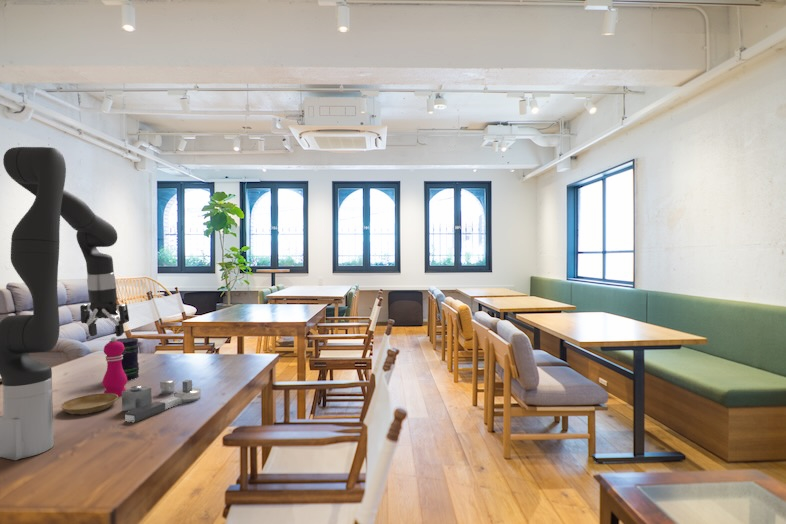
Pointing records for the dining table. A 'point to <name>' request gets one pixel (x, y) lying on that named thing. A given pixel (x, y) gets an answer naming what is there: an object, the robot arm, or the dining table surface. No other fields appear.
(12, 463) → the dining table surface
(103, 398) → the plant saucer
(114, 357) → the pepper mill
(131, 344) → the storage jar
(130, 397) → the socket
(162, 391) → the socket
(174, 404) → the ratchet
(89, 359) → the dining table surface
